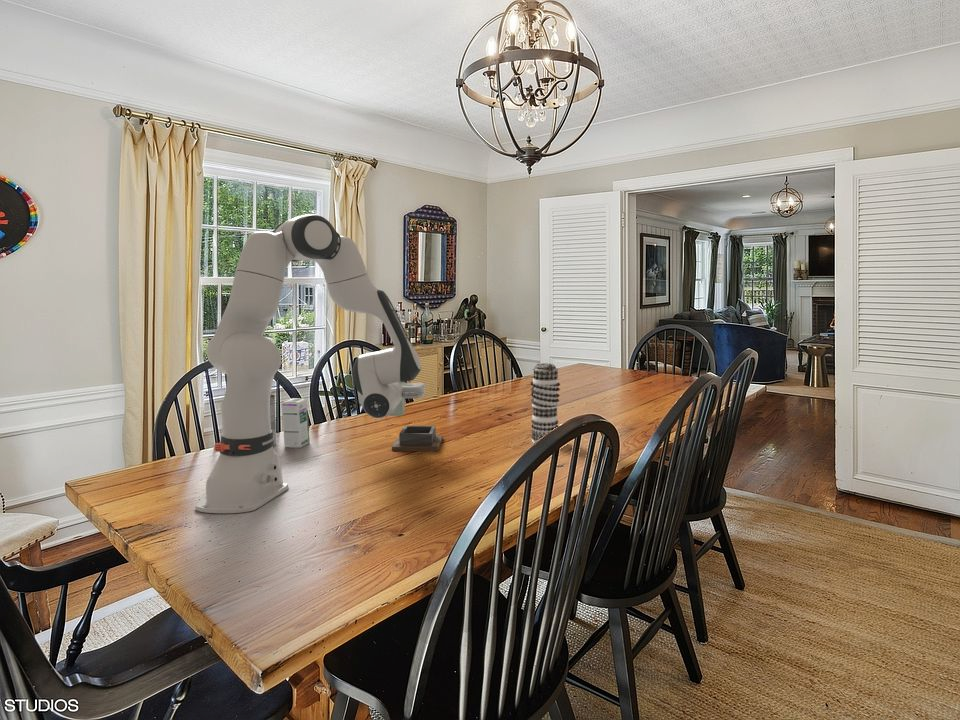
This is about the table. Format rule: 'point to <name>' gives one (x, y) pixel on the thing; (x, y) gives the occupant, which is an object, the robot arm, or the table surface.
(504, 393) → the table surface
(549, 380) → the decorative candle
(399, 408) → the sage peg
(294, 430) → the syrup box
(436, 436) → the dark grey square holder
